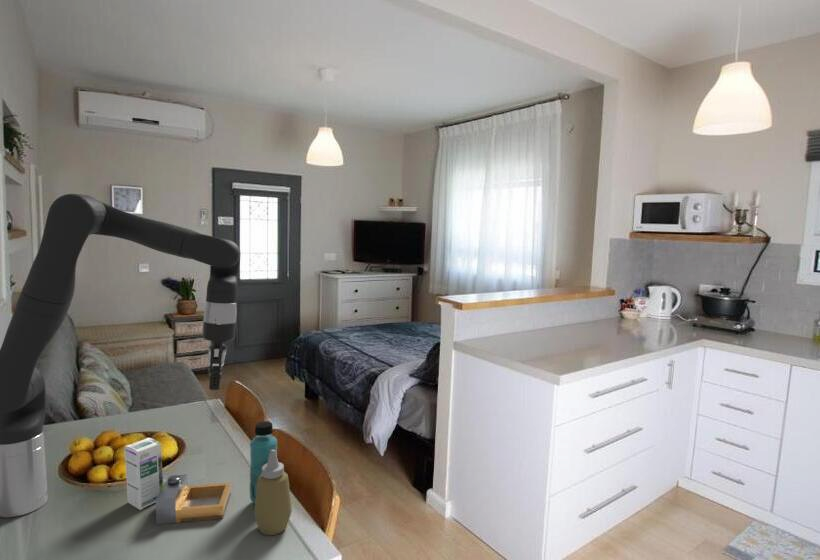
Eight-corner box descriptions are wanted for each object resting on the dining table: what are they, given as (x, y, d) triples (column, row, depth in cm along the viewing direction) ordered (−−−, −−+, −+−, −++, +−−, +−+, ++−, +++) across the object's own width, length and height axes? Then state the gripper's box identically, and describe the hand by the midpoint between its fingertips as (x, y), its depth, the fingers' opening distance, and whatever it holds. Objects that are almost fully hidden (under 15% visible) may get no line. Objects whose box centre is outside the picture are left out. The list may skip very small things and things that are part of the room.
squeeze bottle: (281, 542, 100) (281, 462, 98) (247, 536, 101) (246, 457, 99) (298, 519, 108) (298, 444, 106) (265, 514, 109) (265, 440, 107)
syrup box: (140, 511, 109) (137, 451, 108) (126, 502, 112) (124, 444, 111) (164, 499, 114) (162, 442, 112) (150, 491, 117) (148, 436, 115)
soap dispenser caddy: (156, 524, 104) (155, 495, 104) (170, 498, 114) (169, 472, 113) (223, 518, 107) (222, 490, 106) (230, 494, 117) (230, 468, 116)
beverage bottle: (243, 506, 112) (242, 426, 110) (262, 492, 118) (261, 416, 116) (266, 513, 109) (265, 431, 107) (283, 498, 116) (283, 421, 113)
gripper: (205, 315, 122) (201, 376, 122) (200, 324, 108) (196, 393, 109) (236, 316, 124) (232, 376, 125) (235, 325, 111) (230, 392, 111)
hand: (215, 384), depth 117 cm, fingers open, 8 cm apart
